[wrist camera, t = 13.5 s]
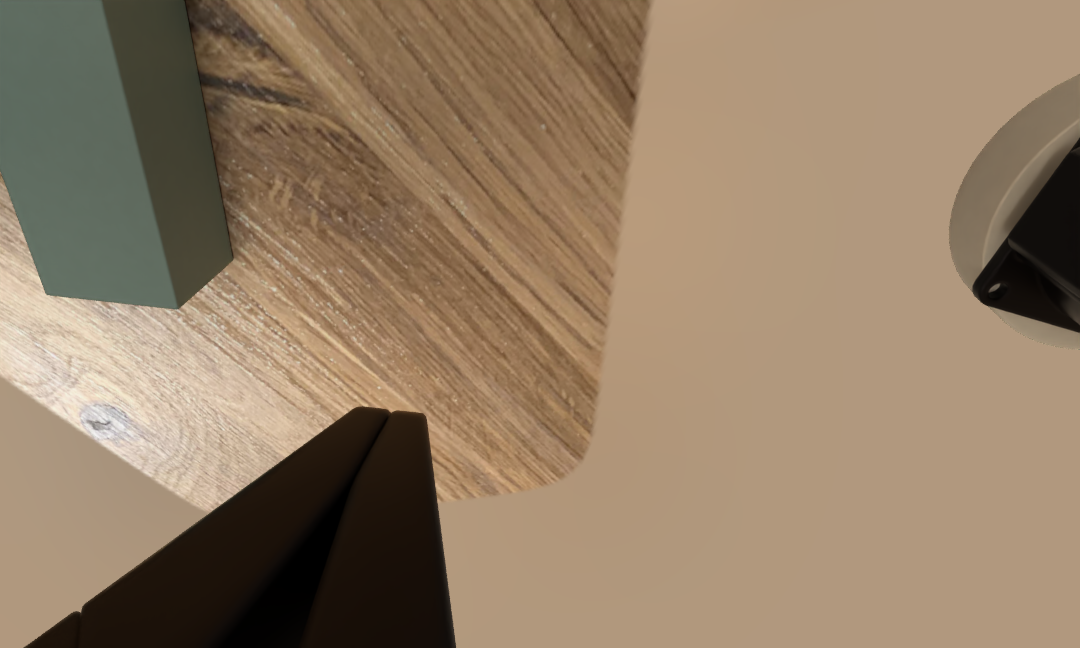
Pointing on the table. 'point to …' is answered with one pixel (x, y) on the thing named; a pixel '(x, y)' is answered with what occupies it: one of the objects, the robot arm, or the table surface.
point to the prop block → (110, 150)
